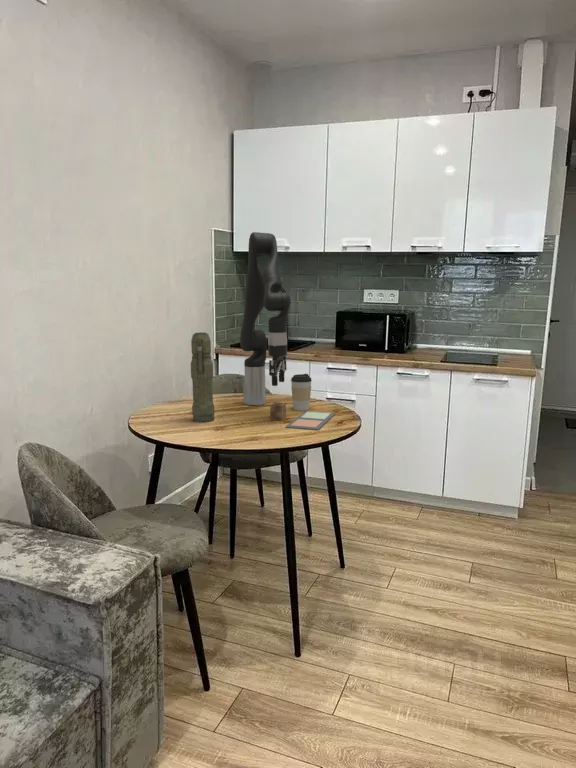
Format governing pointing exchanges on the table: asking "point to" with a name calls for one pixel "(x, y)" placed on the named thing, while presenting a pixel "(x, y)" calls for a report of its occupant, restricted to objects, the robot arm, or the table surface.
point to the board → (311, 420)
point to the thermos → (202, 378)
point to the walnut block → (278, 411)
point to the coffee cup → (301, 391)
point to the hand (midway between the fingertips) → (278, 383)
